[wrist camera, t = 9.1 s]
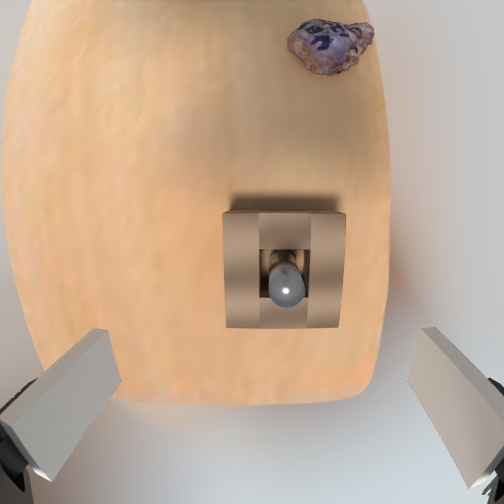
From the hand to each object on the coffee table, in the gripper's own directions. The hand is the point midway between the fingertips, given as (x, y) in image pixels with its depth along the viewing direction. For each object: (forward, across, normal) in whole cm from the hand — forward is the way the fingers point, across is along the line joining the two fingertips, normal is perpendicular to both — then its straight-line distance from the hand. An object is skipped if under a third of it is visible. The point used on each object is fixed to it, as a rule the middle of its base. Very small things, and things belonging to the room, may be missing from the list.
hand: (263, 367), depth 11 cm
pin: (+23, +2, -2) cm, 23 cm away
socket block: (+23, +2, -2) cm, 23 cm away
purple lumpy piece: (+24, +9, +25) cm, 35 cm away
